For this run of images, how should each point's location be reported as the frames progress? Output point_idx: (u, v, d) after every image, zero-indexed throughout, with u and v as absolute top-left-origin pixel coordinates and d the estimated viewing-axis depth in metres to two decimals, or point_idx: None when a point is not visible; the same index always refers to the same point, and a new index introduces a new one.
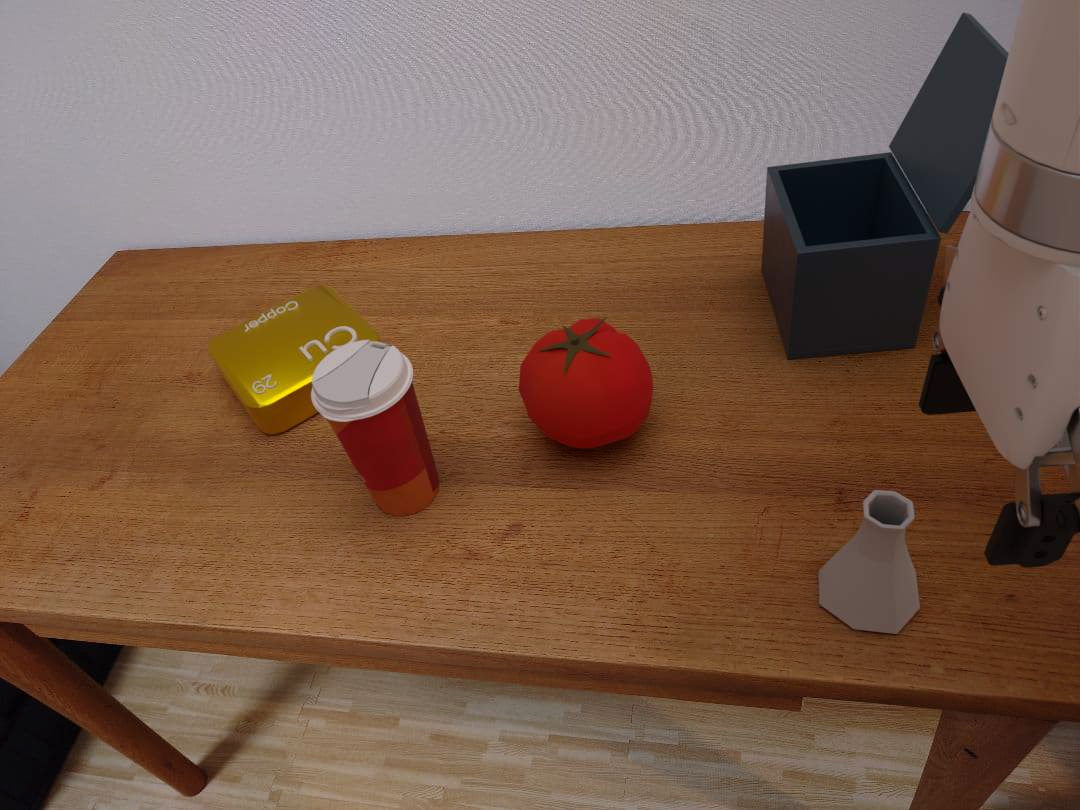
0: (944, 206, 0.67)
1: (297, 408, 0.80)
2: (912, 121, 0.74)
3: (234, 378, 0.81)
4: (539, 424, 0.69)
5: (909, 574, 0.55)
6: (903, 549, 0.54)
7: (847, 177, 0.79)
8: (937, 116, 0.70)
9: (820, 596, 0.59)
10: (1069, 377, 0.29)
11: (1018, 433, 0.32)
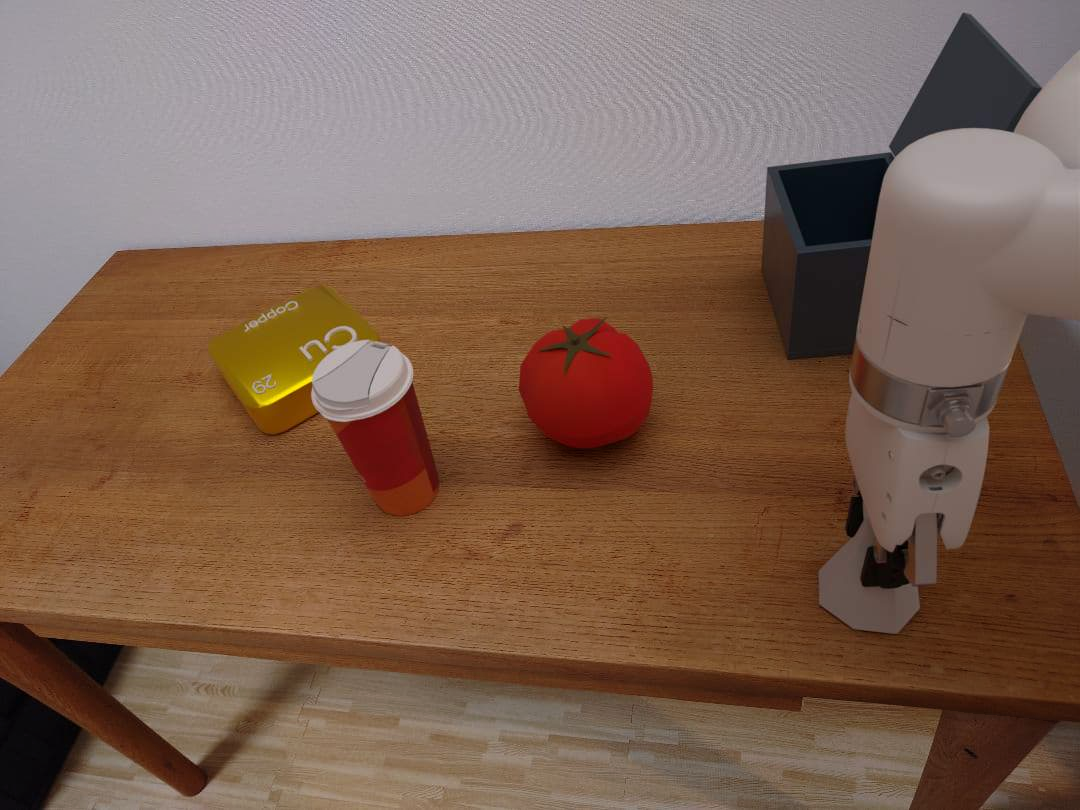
0: None
1: (297, 408, 0.80)
2: (912, 121, 0.74)
3: (234, 378, 0.81)
4: (539, 424, 0.69)
5: None
6: None
7: (847, 177, 0.79)
8: (937, 116, 0.70)
9: (820, 596, 0.59)
10: (910, 497, 0.44)
11: (884, 529, 0.46)
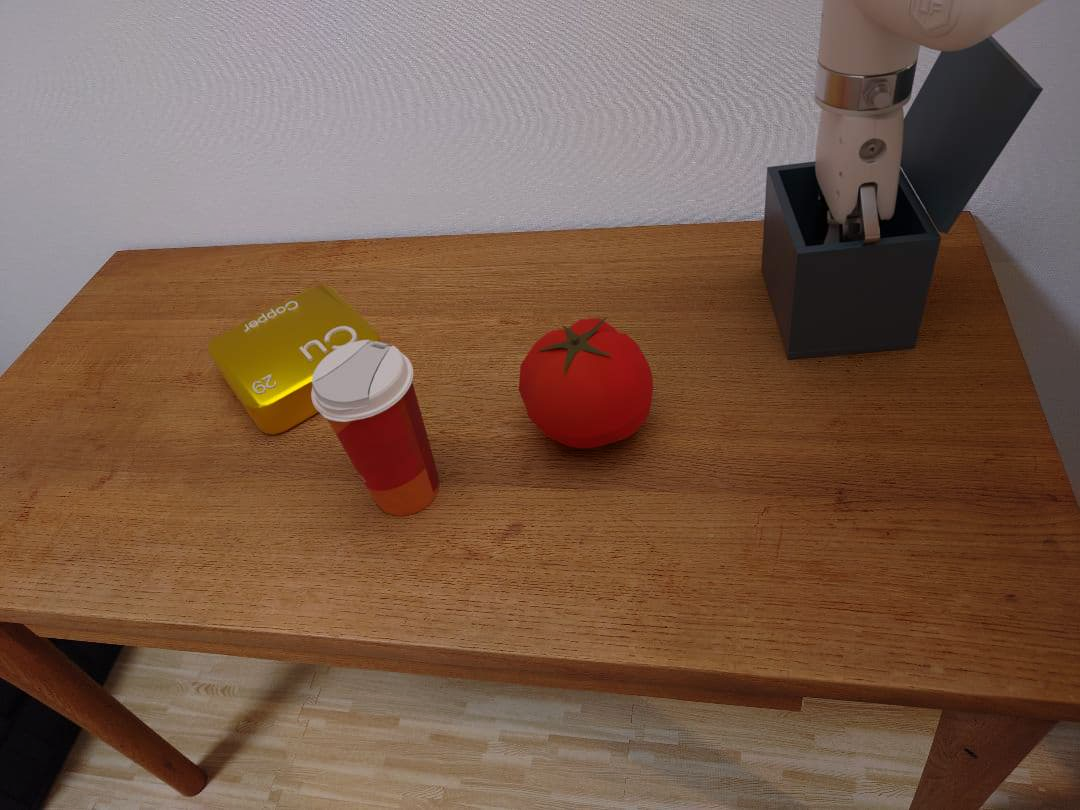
0: (944, 206, 0.67)
1: (297, 408, 0.80)
2: (912, 121, 0.74)
3: (234, 378, 0.81)
4: (539, 424, 0.69)
5: None
6: None
7: None
8: (937, 116, 0.70)
9: None
10: (853, 169, 0.66)
11: (838, 203, 0.69)
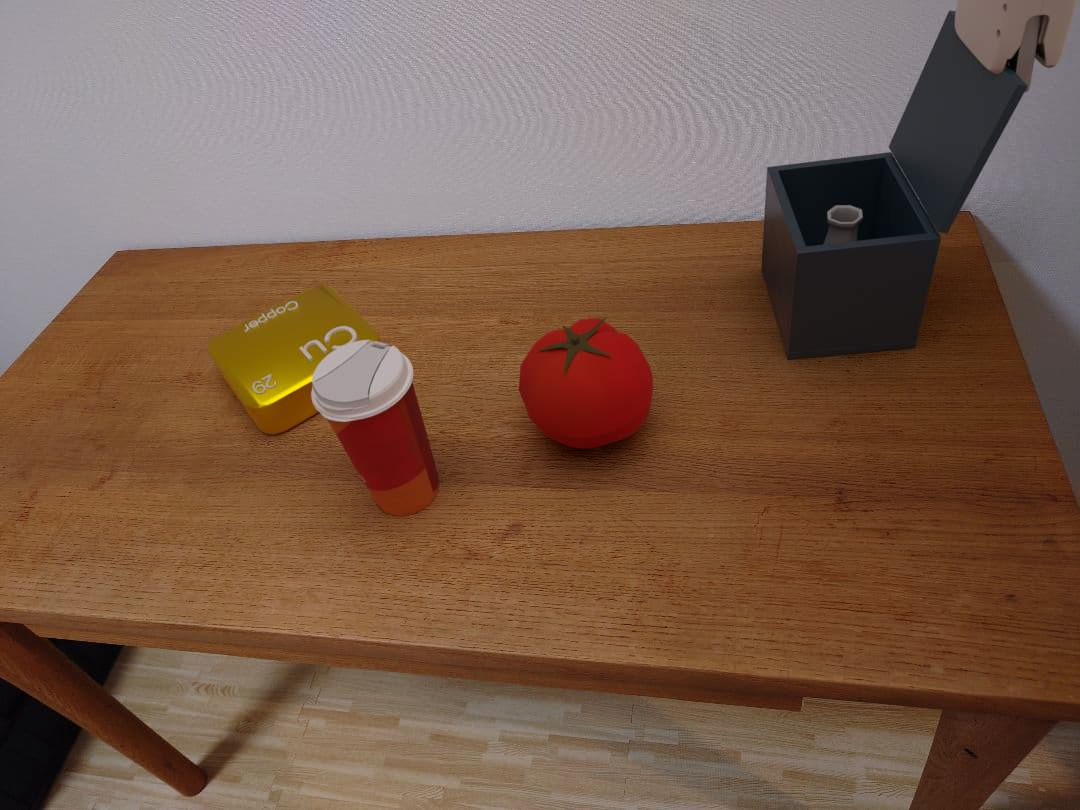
0: (942, 206, 0.67)
1: (297, 408, 0.80)
2: (908, 121, 0.74)
3: (234, 378, 0.81)
4: (539, 424, 0.69)
5: None
6: None
7: (847, 177, 0.79)
8: (931, 115, 0.70)
9: None
10: None
11: (998, 45, 0.59)
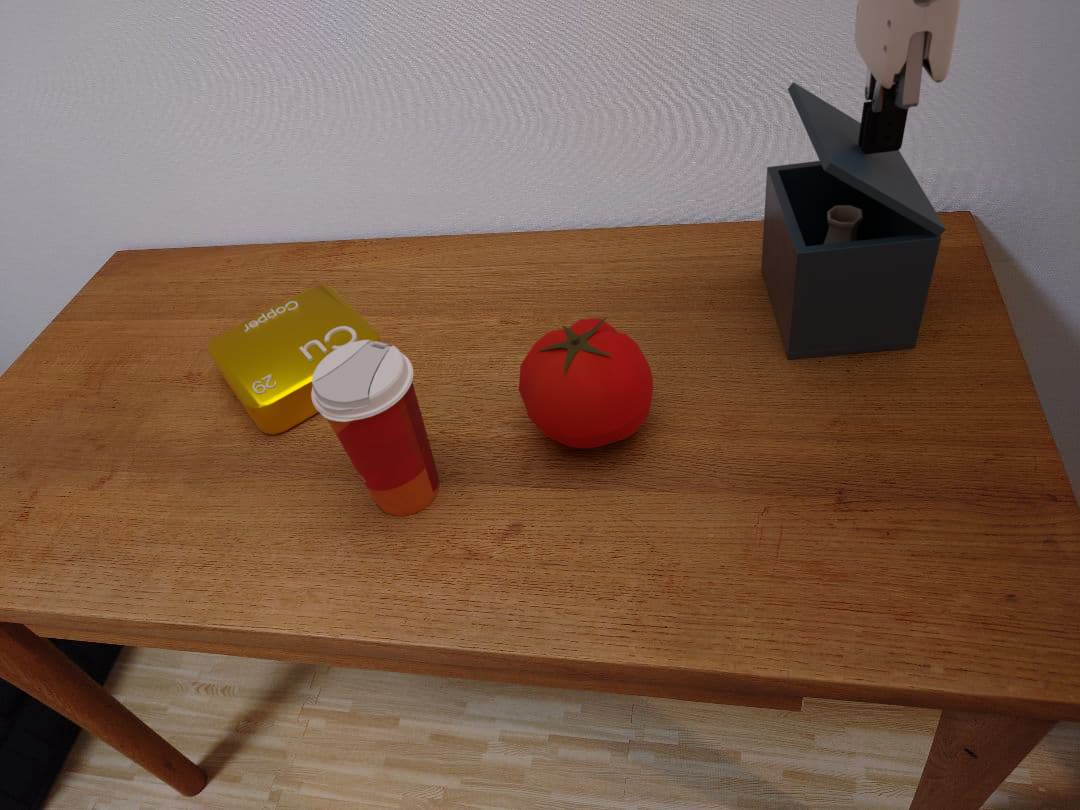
0: None
1: (297, 408, 0.80)
2: None
3: (234, 378, 0.81)
4: (539, 424, 0.69)
5: None
6: None
7: None
8: None
9: None
10: (905, 15, 0.57)
11: (885, 61, 0.60)
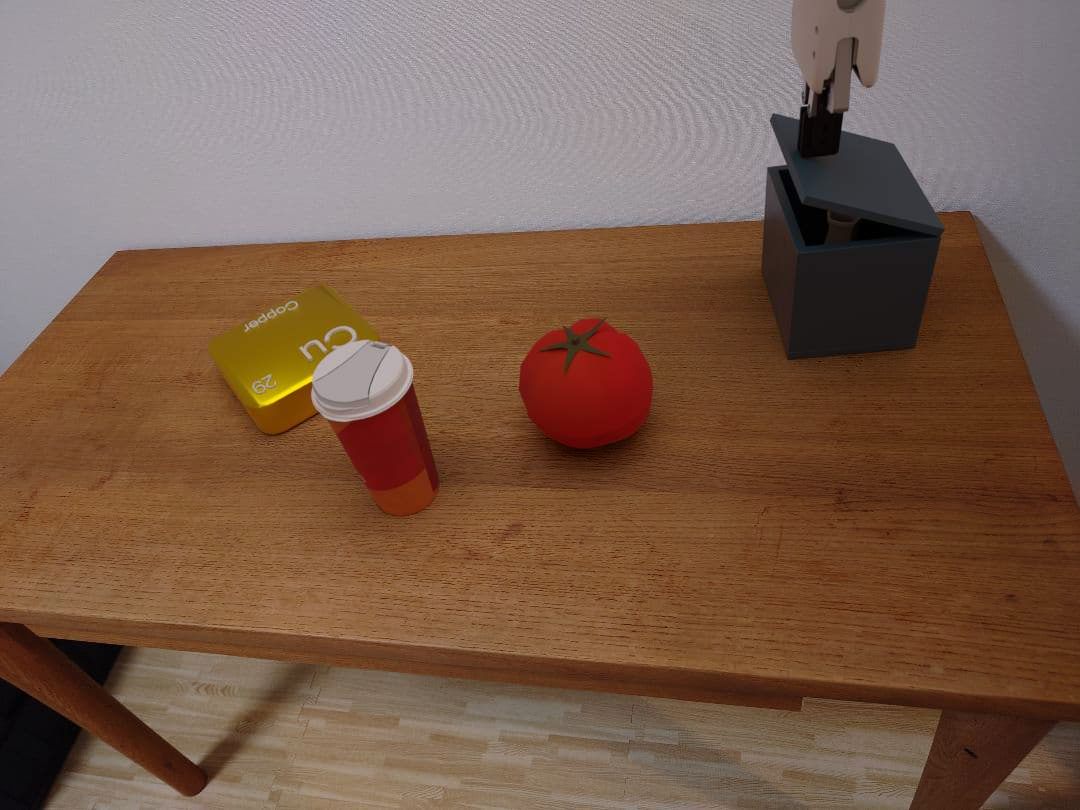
0: None
1: (297, 408, 0.80)
2: None
3: (234, 378, 0.81)
4: (539, 424, 0.69)
5: None
6: None
7: None
8: None
9: None
10: (831, 21, 0.58)
11: (814, 66, 0.60)
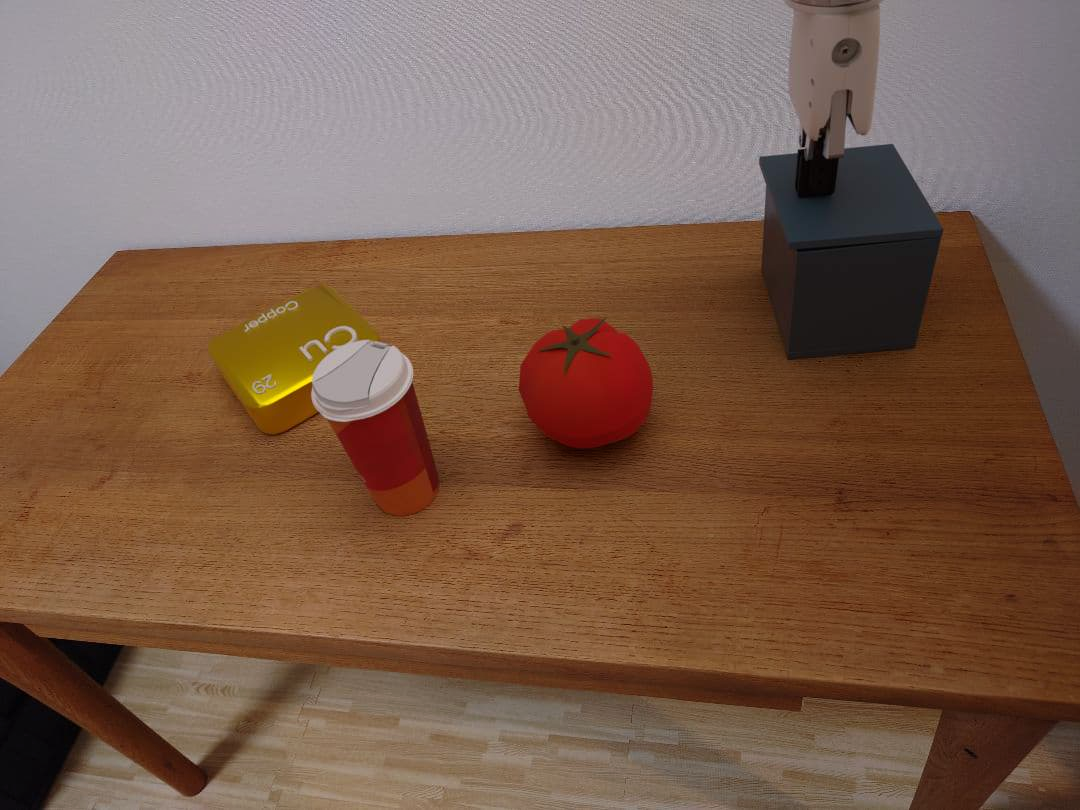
0: None
1: (297, 408, 0.80)
2: None
3: (234, 378, 0.81)
4: (539, 424, 0.69)
5: None
6: None
7: None
8: None
9: None
10: (826, 75, 0.60)
11: (810, 116, 0.63)
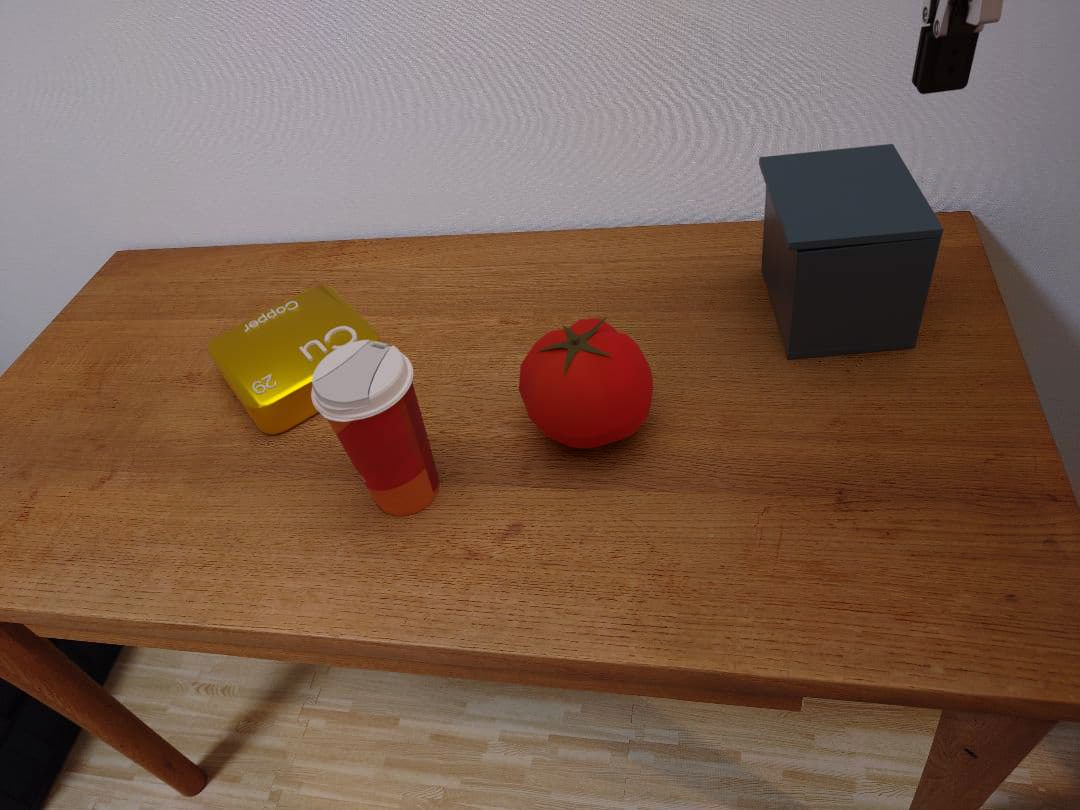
0: None
1: (297, 408, 0.80)
2: None
3: (234, 378, 0.81)
4: (539, 424, 0.69)
5: None
6: None
7: None
8: None
9: None
10: None
11: None
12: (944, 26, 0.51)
